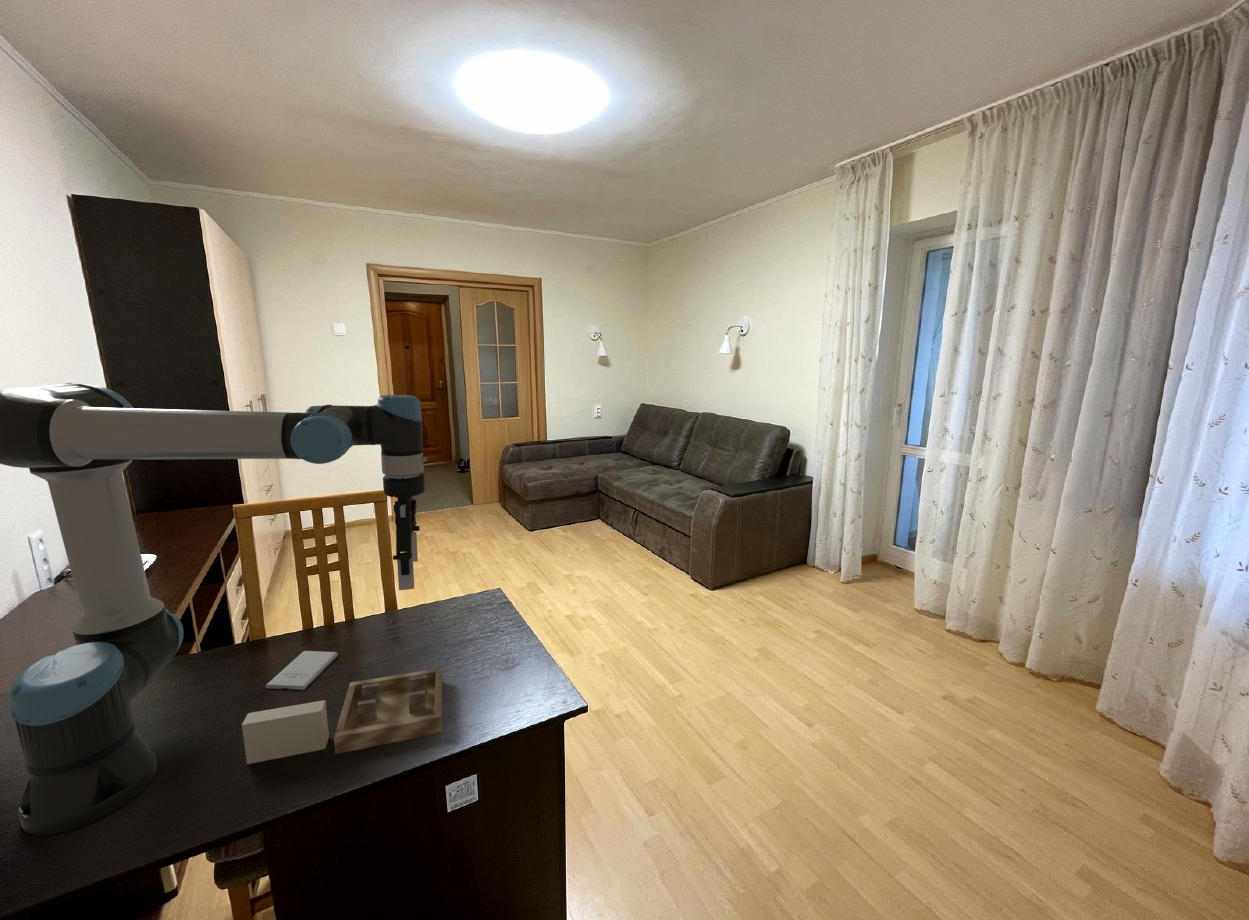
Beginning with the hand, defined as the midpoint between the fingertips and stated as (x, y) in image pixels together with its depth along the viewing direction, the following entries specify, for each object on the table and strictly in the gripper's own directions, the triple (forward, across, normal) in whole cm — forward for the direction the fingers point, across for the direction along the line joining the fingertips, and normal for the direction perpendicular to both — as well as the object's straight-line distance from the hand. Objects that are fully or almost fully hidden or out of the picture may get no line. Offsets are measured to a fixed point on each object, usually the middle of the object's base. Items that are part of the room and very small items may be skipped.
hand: (408, 574), depth 102 cm
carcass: (+27, -7, +4) cm, 28 cm away
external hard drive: (+28, +14, +24) cm, 39 cm away
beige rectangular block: (+27, -11, +20) cm, 36 cm away
